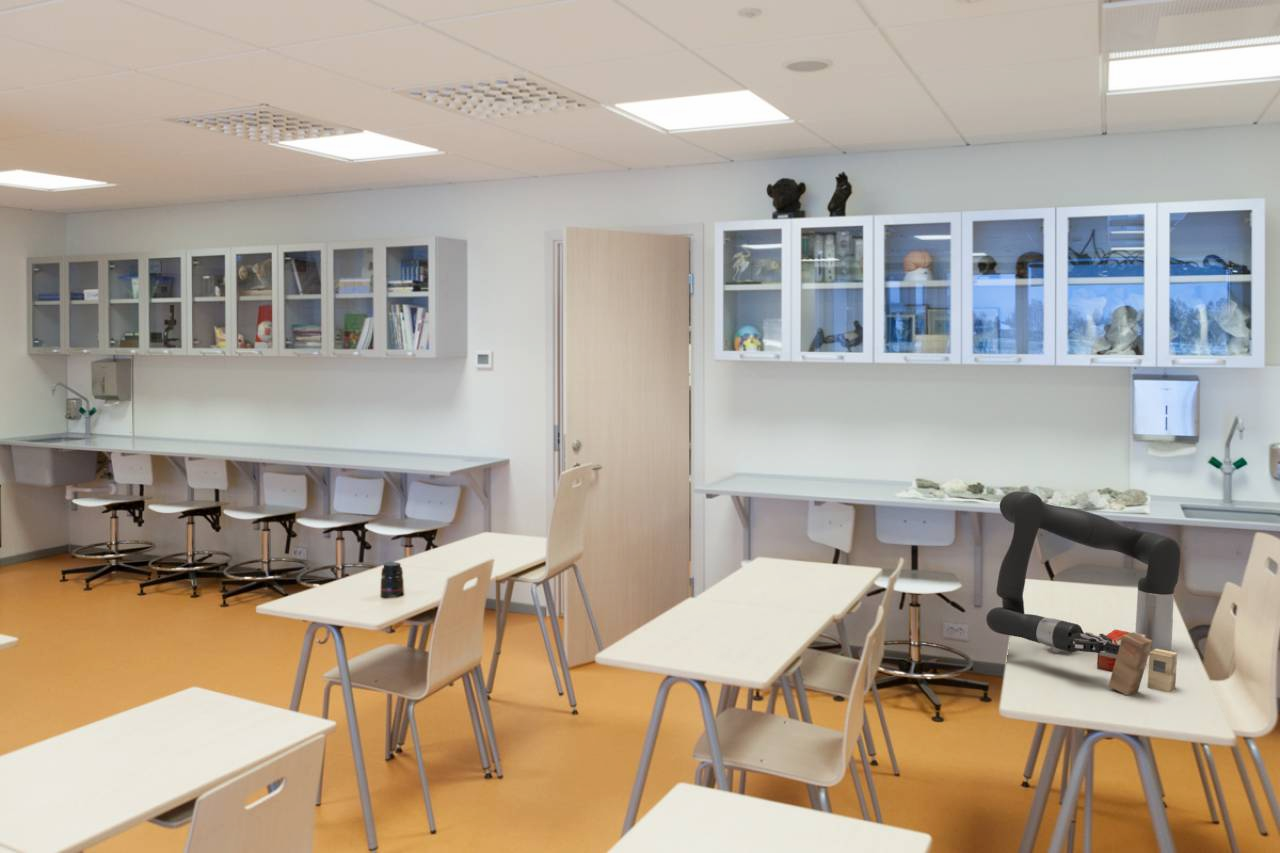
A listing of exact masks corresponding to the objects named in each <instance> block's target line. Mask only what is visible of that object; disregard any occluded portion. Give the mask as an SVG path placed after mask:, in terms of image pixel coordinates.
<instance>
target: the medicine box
mask: <svg viewBox="0 0 1280 853" xmlns="http://www.w3.org/2000/svg"><path fill="white" fill-rule="evenodd" d="M1129 633H1132V632H1131V631H1127V630H1121V629H1114V630H1112V631H1111V632H1109V633H1108V634H1105V635H1106V636H1107V637H1109V638H1110V639H1111V640H1112V643H1114V644H1118V645H1120V643H1121V640H1122V636H1123V635H1125V634H1129ZM1136 634H1137V633H1136ZM1138 635H1141V636H1143V637H1146V636H1145V635H1142V634H1138ZM1116 658H1117V654H1113V653H1109V652H1105V653H1104V652H1100V653H1097V659H1096V660H1097V661H1096V664H1097V665H1096V669H1098V670H1104V671H1108V672H1110V671H1111V672H1113V668H1114V665H1115V661H1116Z"/></svg>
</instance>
